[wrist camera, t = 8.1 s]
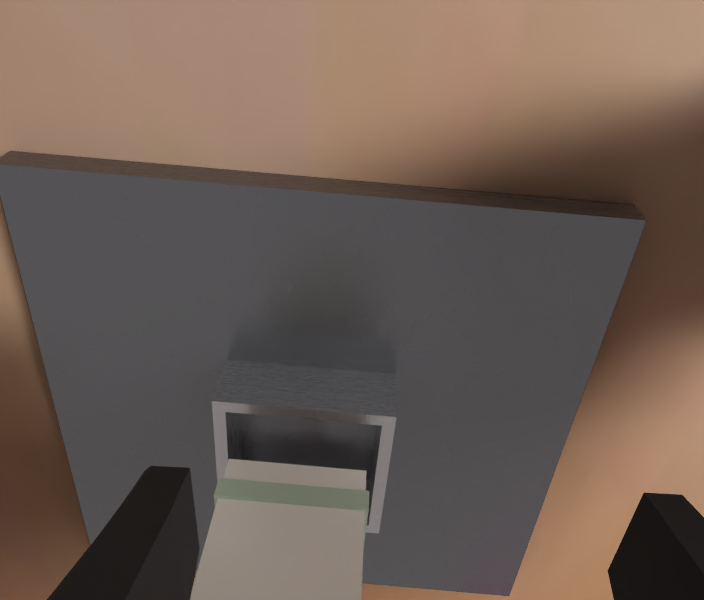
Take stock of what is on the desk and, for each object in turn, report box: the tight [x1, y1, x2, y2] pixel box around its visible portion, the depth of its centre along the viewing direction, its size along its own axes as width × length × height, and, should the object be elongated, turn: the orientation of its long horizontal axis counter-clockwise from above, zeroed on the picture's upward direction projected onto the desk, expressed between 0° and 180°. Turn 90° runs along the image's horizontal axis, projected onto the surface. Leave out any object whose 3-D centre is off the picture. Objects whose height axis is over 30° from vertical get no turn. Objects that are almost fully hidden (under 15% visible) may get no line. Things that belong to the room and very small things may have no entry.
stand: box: [0, 151, 647, 596], centre depth 21 cm, size 18×18×4 cm
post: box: [190, 459, 369, 600], centre depth 17 cm, size 4×4×6 cm
